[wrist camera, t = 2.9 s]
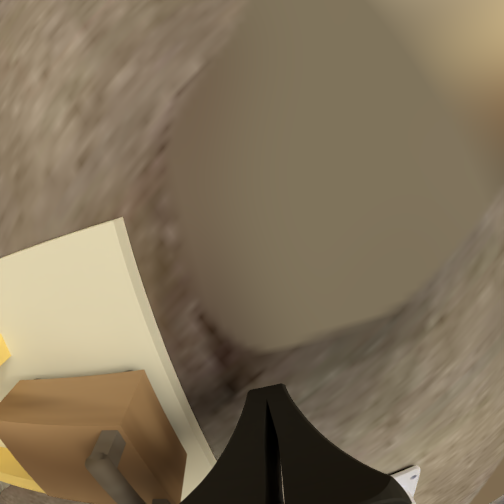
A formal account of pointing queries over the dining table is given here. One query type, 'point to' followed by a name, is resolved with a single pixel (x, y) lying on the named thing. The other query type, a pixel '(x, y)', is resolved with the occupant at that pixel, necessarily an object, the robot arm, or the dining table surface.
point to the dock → (87, 331)
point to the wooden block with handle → (95, 439)
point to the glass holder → (3, 485)
